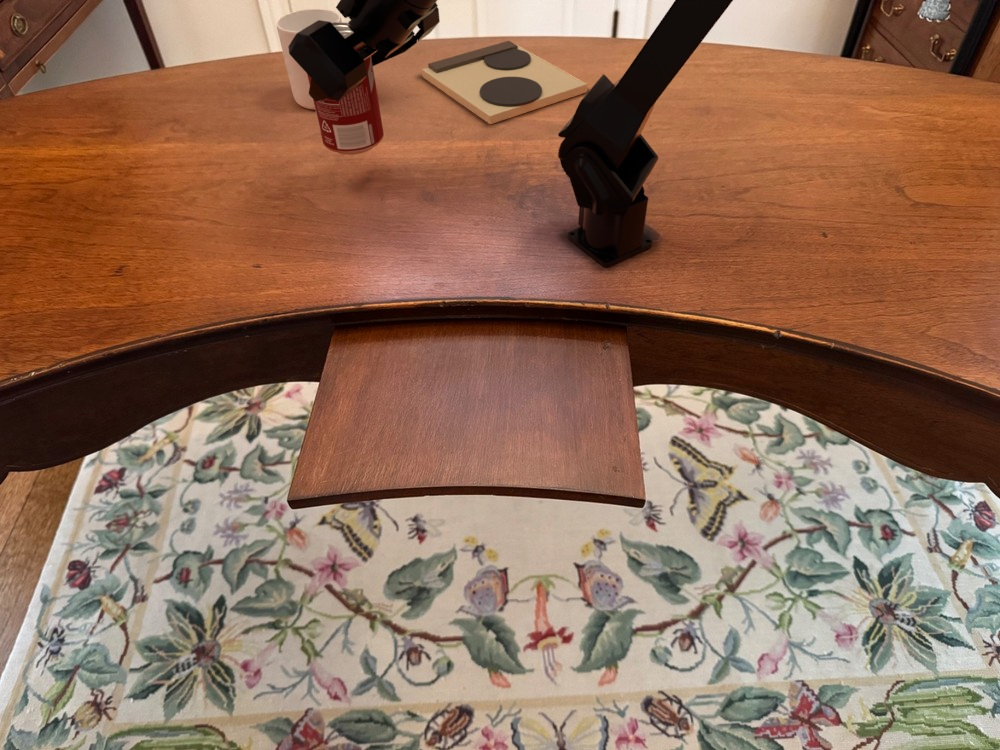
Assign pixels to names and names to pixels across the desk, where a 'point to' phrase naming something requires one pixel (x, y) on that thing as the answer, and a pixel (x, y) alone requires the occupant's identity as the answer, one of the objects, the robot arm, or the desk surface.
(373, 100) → the soda can
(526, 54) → the hob
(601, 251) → the robot arm
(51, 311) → the desk surface
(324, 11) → the mug
